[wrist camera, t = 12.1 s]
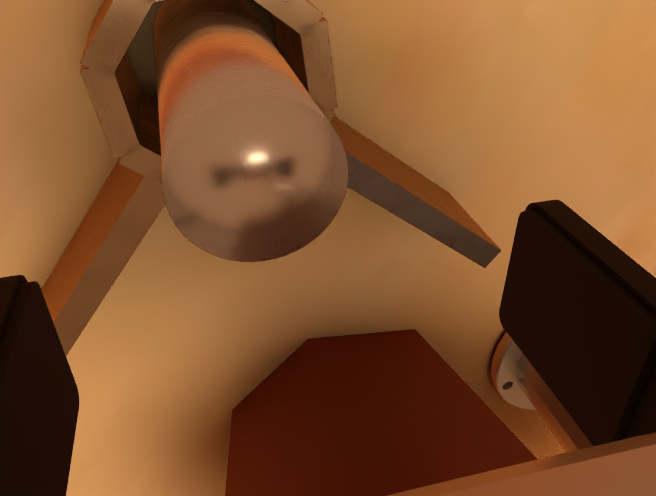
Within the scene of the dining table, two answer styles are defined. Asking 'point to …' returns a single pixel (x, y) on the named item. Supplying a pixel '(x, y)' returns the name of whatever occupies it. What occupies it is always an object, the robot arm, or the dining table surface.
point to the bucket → (363, 422)
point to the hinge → (146, 166)
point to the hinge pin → (240, 136)
